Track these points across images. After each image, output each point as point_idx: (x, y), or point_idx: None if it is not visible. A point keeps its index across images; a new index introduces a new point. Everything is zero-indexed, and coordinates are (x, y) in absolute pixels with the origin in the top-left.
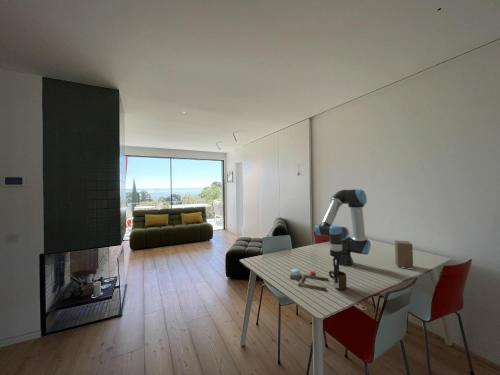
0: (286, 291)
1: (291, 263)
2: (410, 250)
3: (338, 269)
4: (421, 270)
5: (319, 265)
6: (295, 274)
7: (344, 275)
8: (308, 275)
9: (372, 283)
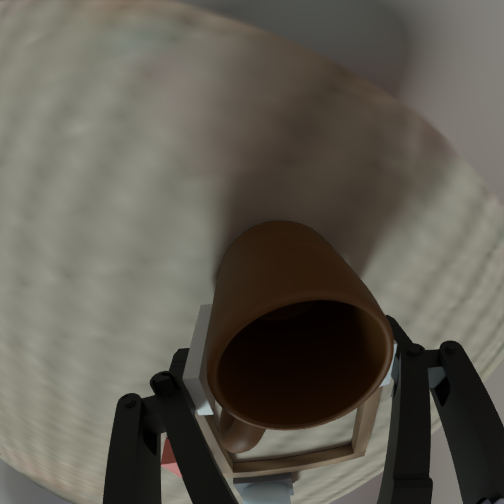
0: None
1: None
2: None
3: (194, 421)
4: None
5: (27, 415)
6: (289, 494)
7: (366, 302)
8: (225, 464)
9: (28, 62)
